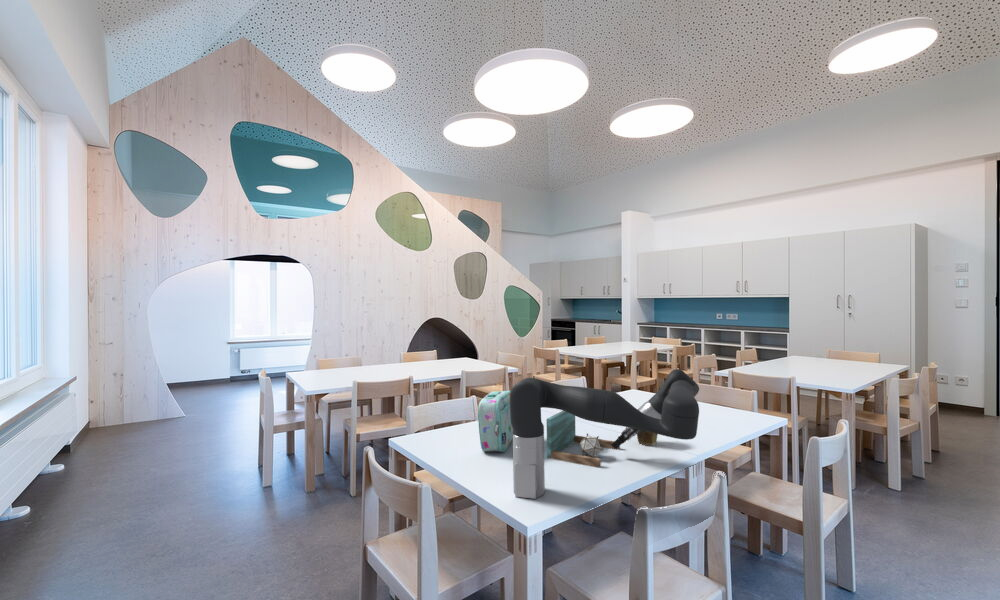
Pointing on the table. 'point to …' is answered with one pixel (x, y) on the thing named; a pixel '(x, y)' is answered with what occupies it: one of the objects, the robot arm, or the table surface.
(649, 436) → the ceramic cup
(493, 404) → the lunch box
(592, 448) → the game die
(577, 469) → the table surface
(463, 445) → the table surface
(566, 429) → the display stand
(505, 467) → the table surface
